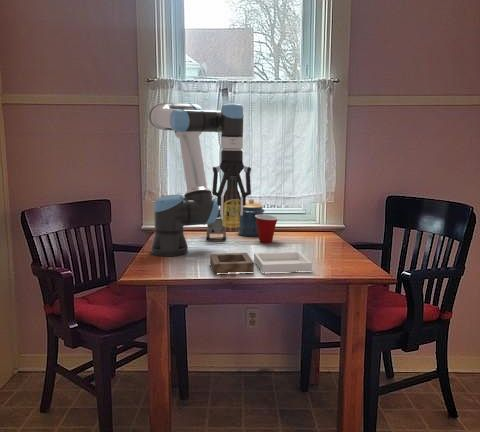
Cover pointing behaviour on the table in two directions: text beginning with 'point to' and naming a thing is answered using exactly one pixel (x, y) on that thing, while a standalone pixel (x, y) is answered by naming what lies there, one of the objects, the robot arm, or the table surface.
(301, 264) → the plastic tray
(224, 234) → the figurine
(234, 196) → the sauce bottle
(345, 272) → the table surface
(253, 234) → the canister
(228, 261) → the walnut holder
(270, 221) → the plastic cup
